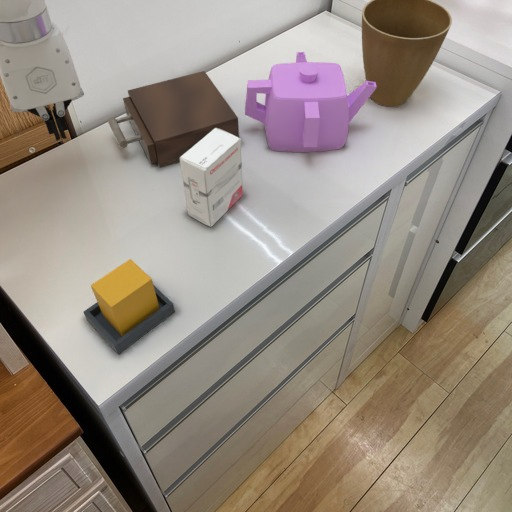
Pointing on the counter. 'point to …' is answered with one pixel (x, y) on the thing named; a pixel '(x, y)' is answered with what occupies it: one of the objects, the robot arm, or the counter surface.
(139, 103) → the cabinet
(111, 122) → the drawer
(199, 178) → the ink box
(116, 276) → the box
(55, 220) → the counter surface
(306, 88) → the teakettle
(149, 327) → the dark grey tray
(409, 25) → the plant pot
